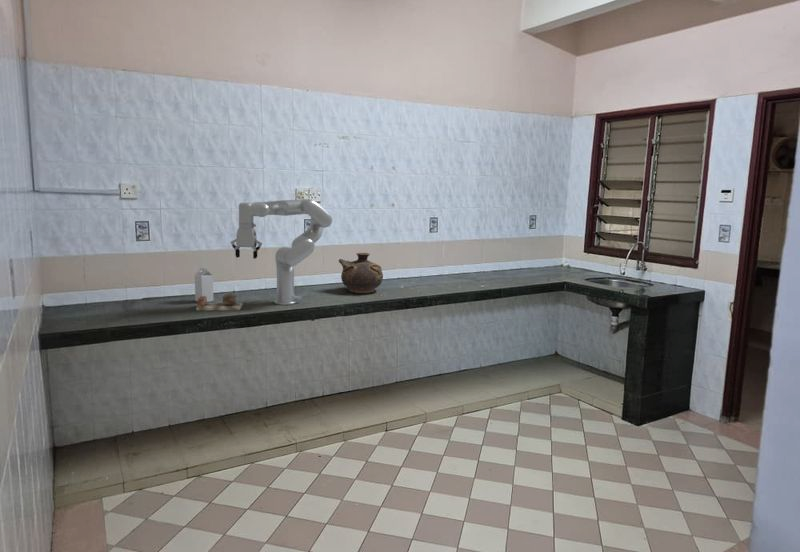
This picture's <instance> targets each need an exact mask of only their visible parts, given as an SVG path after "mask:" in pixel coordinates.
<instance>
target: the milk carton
mask: <svg viewBox="0 0 800 552" xmlns="http://www.w3.org/2000/svg"><path fill="white" fill-rule="evenodd" d="M201 296H207V303H212V302H214V275H213V274H212V273H211V272H210V271H208V268H205V267H202V266H200V267H199V269H198V271H197V272H196V273H195V274H194V298H195V299H194V300H195V302H197V303H198V299H199V298H200V297H201Z"/></svg>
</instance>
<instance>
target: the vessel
mask: <svg viewBox="0 0 800 552" xmlns="http://www.w3.org/2000/svg"><path fill="white" fill-rule="evenodd" d="M356 255H357V260H352V261H350V260H345V259H342V258H339V259H338V263H339V264H340V265H341V267H342V272H341V274H340V276H341V282H342V284H343V285H344V286H345V287H346V288H347V289H348V290H349V292H351V293H353V292H355V294H370V293H371V292H372V293H374V292H375V290H376V289H377V288H379V286H381V285H382V282H383V280H384V274H383V270H382V266H380V264H377V263H375V262H373V261H371V260H368V257H369V256H370V255H371V253H368V252H356Z"/></svg>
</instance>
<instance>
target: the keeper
mask: <svg viewBox="0 0 800 552" xmlns="http://www.w3.org/2000/svg"><path fill="white" fill-rule="evenodd" d="M222 303H223V305H235V303H237V295H236V294H234V293H233V294H229V293H228V294H223V295H222Z"/></svg>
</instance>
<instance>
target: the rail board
mask: <svg viewBox="0 0 800 552" xmlns="http://www.w3.org/2000/svg"><path fill="white" fill-rule="evenodd" d="M242 307H243V302H236V303H235V305H223V302H207V296H201V297H200V298H199V299H198V302H197V306H196V311H240V310H241V309H242Z"/></svg>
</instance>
